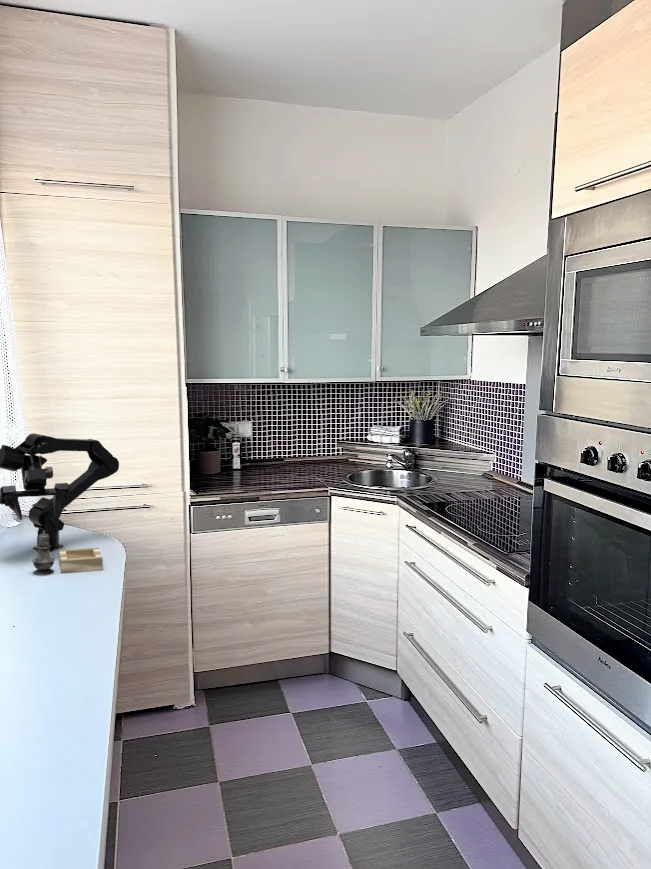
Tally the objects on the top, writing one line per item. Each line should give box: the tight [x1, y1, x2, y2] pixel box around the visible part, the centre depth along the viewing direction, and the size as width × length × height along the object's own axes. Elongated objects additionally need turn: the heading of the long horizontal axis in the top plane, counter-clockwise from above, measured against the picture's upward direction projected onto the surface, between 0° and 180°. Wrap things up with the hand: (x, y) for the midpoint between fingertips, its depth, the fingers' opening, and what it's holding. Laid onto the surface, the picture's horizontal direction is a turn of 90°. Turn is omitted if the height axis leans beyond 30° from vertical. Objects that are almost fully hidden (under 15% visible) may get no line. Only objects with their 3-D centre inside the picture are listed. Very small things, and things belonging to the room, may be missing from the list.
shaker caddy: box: [58, 547, 104, 574], centre depth 190 cm, size 11×11×4 cm
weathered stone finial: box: [31, 530, 56, 576], centre depth 183 cm, size 6×6×12 cm
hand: (38, 517), depth 189 cm, fingers open, 9 cm apart
